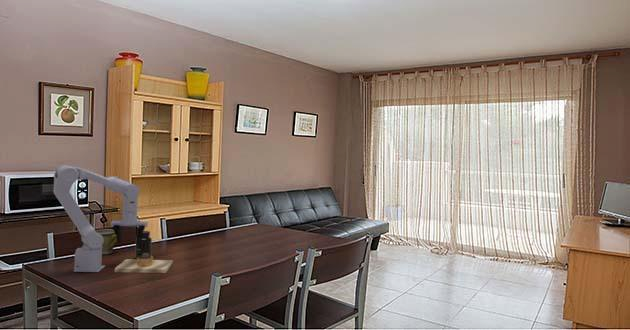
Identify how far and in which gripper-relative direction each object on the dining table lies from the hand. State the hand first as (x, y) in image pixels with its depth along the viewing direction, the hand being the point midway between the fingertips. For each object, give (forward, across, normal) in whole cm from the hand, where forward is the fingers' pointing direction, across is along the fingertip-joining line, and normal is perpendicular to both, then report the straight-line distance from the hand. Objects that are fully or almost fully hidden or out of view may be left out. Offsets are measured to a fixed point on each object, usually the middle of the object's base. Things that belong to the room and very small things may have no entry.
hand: (128, 243), depth 188 cm
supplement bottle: (+10, +4, +12) cm, 16 cm away
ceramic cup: (+10, -14, +20) cm, 26 cm away
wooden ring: (+8, +8, -4) cm, 12 cm away
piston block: (+9, +8, -4) cm, 13 cm away
